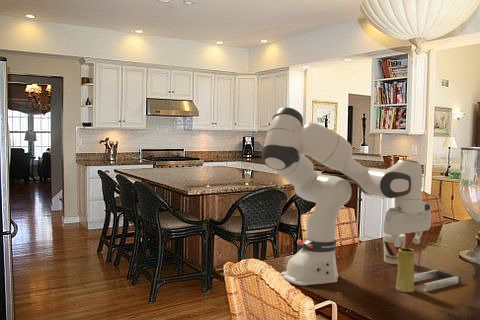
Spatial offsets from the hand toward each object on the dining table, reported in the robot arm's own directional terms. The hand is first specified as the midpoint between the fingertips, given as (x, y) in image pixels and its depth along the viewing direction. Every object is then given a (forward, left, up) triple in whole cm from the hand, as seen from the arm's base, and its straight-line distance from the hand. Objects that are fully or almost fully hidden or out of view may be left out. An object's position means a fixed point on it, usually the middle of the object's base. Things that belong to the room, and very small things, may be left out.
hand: (407, 245), depth 150 cm
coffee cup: (+24, +26, -16) cm, 39 cm away
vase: (0, 0, -16) cm, 16 cm away
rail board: (+14, 0, -16) cm, 21 cm away
